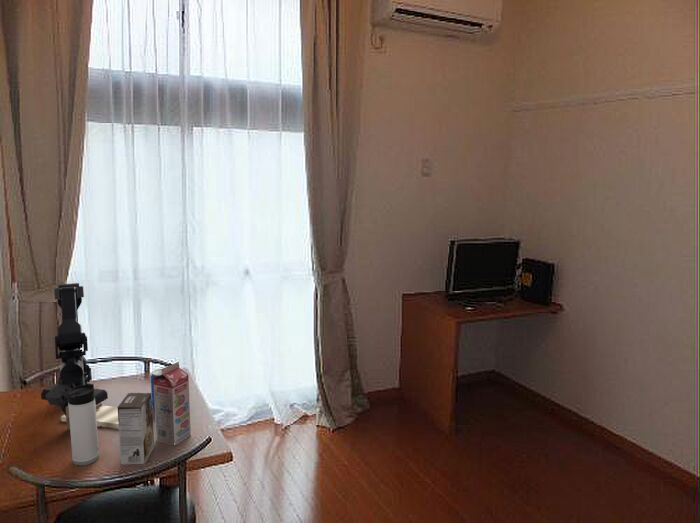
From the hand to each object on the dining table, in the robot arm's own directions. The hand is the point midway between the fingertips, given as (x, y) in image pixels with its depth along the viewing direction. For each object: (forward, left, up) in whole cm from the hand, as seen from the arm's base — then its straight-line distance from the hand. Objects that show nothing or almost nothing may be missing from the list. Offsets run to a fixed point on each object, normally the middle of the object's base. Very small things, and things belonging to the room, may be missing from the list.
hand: (76, 421), depth 156 cm
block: (0, +4, -2) cm, 5 cm away
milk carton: (+31, +1, -2) cm, 31 cm away
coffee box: (+27, -10, -2) cm, 29 cm away
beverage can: (+16, +19, -2) cm, 26 cm away
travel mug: (+15, -15, -2) cm, 21 cm away
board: (+3, +7, -2) cm, 8 cm away
